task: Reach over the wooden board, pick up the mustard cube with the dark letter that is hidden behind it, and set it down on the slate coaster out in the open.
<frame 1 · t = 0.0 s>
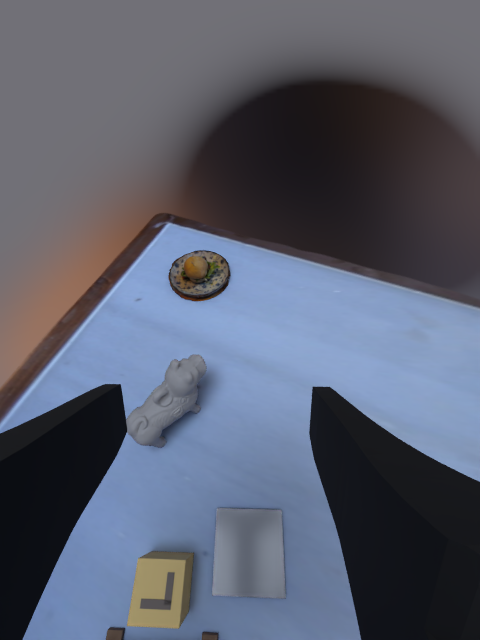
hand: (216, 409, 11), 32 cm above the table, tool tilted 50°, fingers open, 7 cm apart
dog figurine: (176, 410, 43), on the table
coaster: (248, 549, 34), on the table
cube: (169, 579, 33), on the table
burger: (200, 278, 57), on the table
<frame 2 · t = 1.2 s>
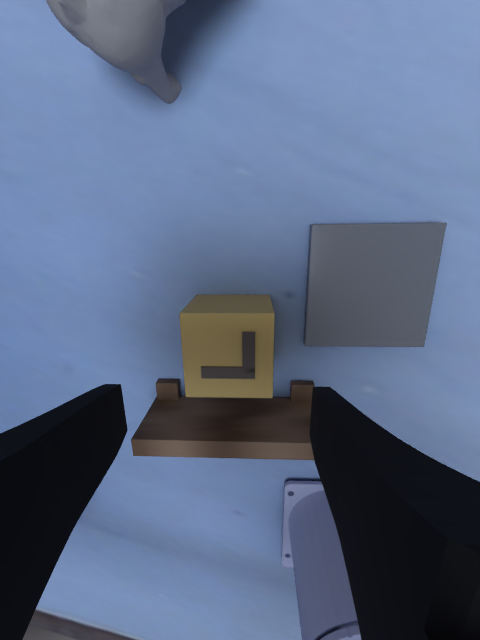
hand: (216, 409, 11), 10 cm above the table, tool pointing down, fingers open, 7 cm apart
wooden board: (234, 403, 22), on the table
coaster: (367, 287, 19), on the table
cube: (233, 328, 21), on the table
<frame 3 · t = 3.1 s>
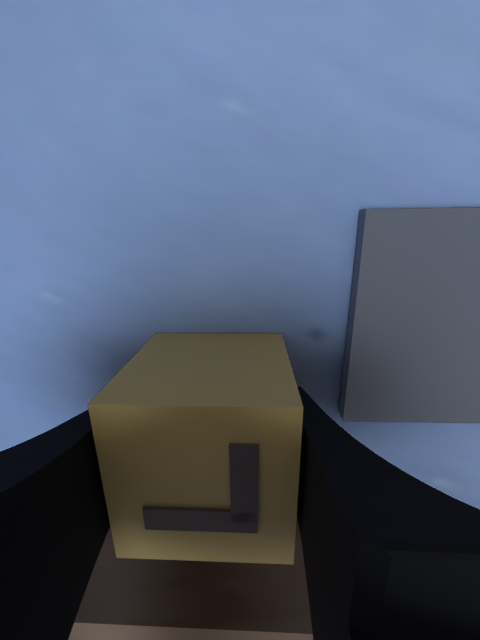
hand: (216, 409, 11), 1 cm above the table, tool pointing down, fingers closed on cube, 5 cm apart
wooden board: (224, 500, 14), on the table
coaster: (455, 322, 11), on the table
cube: (220, 389, 12), on the table, touching gripper
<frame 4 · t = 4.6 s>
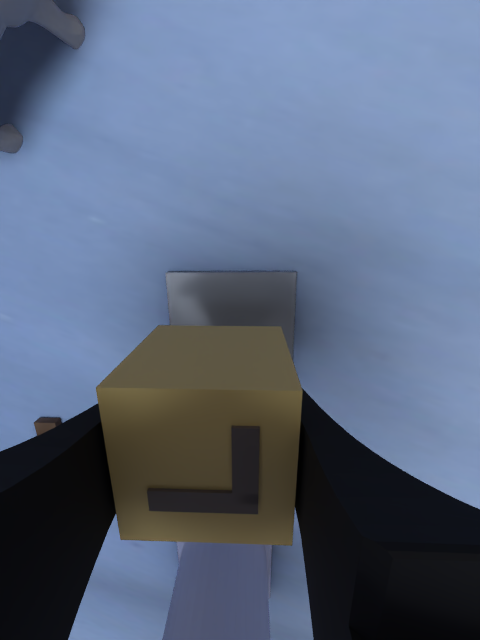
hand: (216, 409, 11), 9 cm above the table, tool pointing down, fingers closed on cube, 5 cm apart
wooden board: (118, 441, 22), on the table
dog figurine: (20, 43, 15), on the table
coaster: (232, 331, 19), on the table
cube: (220, 381, 12), point 7 cm above the table, touching gripper
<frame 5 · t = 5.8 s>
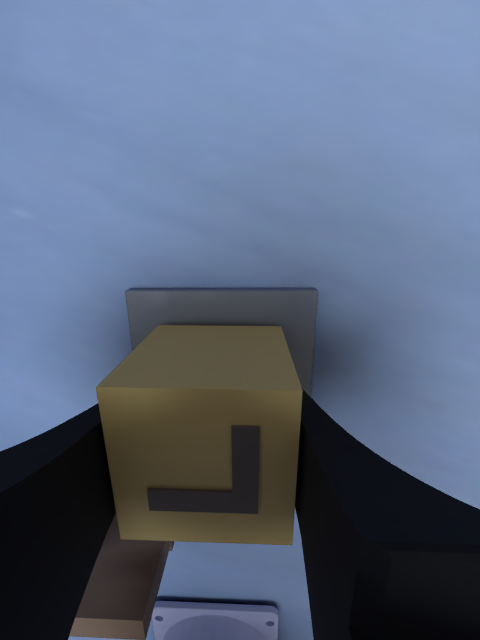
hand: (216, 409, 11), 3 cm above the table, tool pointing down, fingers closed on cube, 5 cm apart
wooden board: (72, 511, 17), on the table
coaster: (223, 371, 14), on the table
cube: (220, 380, 12), point 1 cm above the table, touching gripper
when the fingers open (3 cm above the table, at t = 6.5 s): cube stays where it is, resting on coaster.
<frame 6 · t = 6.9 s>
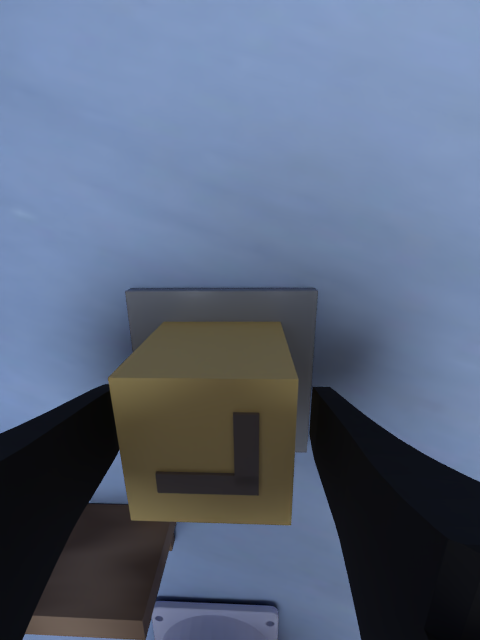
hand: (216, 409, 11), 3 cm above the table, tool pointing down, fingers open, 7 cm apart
wooden board: (72, 511, 17), on the table
coaster: (223, 371, 14), on the table
cube: (223, 374, 13), point 1 cm above the table, touching coaster
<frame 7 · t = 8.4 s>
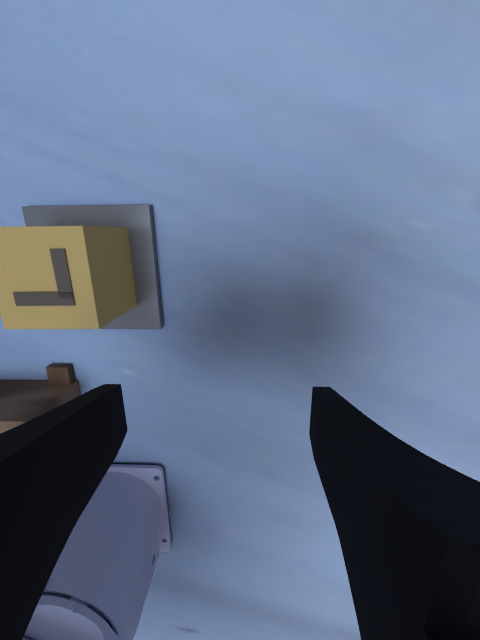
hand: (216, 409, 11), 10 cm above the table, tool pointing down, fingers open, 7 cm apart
wooden board: (4, 386, 22), on the table
coaster: (99, 269, 19), on the table
cube: (94, 268, 19), point 1 cm above the table, touching coaster
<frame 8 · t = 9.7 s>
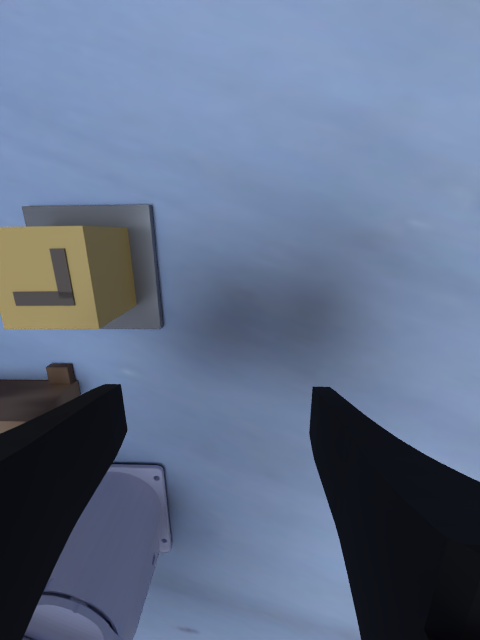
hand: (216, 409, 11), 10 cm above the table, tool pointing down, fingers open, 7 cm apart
wooden board: (4, 386, 22), on the table
coaster: (99, 269, 19), on the table
cube: (94, 268, 19), point 1 cm above the table, touching coaster
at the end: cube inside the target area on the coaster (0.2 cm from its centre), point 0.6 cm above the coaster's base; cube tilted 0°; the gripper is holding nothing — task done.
